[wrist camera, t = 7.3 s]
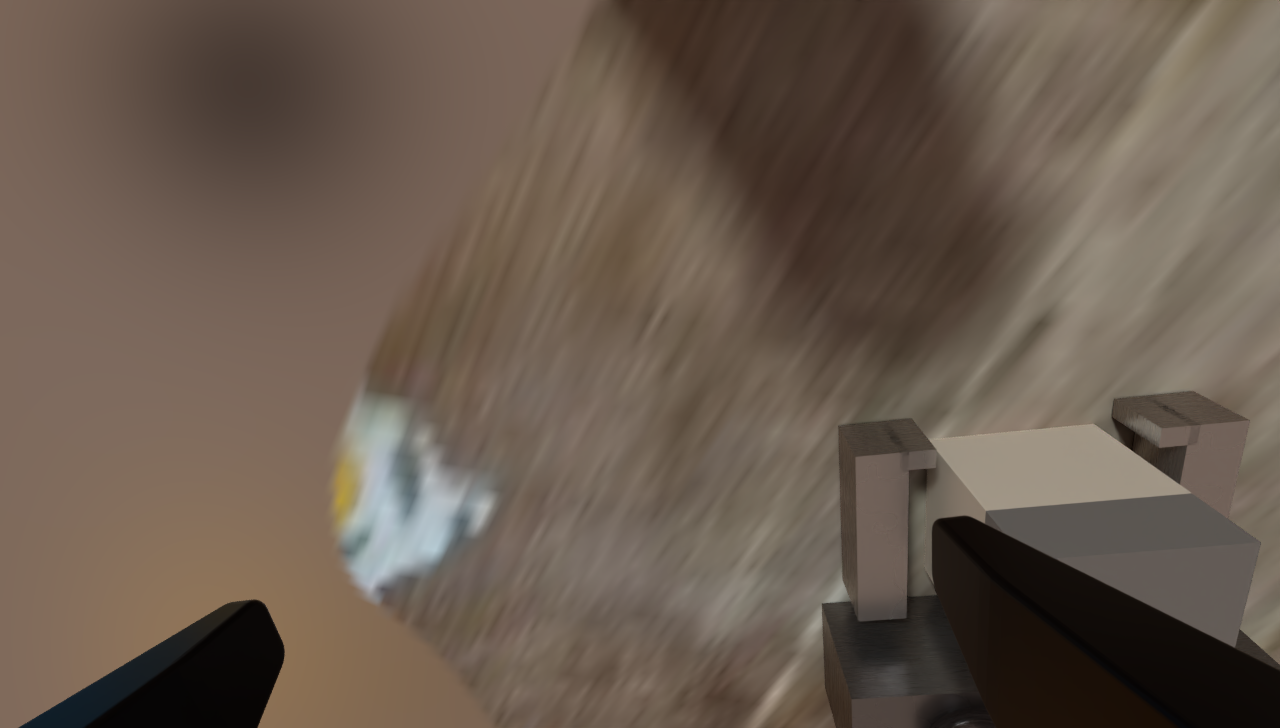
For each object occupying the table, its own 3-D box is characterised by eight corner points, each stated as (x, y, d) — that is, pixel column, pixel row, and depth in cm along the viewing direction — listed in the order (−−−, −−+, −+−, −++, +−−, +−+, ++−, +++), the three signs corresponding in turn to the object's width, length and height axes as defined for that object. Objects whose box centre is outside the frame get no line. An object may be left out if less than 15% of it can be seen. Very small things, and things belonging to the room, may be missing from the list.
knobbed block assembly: (814, 427, 20) (855, 515, 16) (1220, 388, 19) (1390, 470, 14) (825, 688, 24) (860, 818, 19) (1163, 667, 23) (1284, 801, 18)
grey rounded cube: (1092, 423, 20) (1261, 542, 14) (1075, 555, 21) (1219, 708, 16) (927, 439, 20) (1026, 560, 15) (924, 567, 22) (1010, 720, 16)
